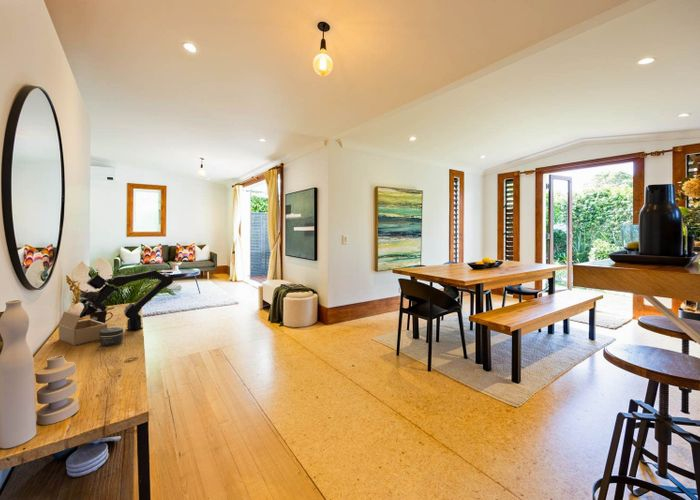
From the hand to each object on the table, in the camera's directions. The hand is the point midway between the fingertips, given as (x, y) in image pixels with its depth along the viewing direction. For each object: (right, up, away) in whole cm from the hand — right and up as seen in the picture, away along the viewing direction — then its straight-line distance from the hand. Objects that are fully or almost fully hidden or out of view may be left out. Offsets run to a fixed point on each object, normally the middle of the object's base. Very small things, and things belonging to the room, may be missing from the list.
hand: (79, 317), depth 168 cm
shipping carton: (0, -12, +2) cm, 12 cm away
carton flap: (-3, -4, -5) cm, 7 cm away
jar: (+21, -13, -5) cm, 25 cm away
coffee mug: (-8, -11, +24) cm, 28 cm away
